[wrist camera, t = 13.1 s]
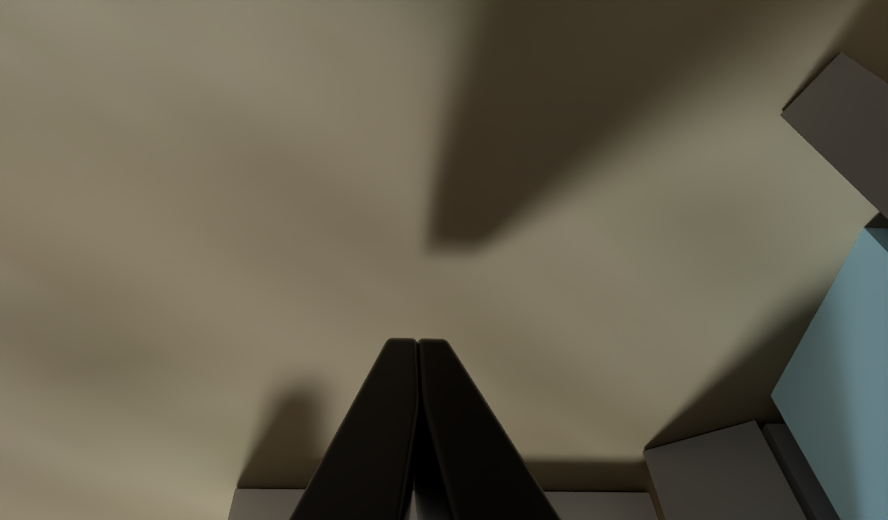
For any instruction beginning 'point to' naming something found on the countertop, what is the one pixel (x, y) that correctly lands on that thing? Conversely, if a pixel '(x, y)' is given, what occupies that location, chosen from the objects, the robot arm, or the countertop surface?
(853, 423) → the light blue block
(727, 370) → the countertop surface
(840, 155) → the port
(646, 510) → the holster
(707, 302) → the countertop surface
